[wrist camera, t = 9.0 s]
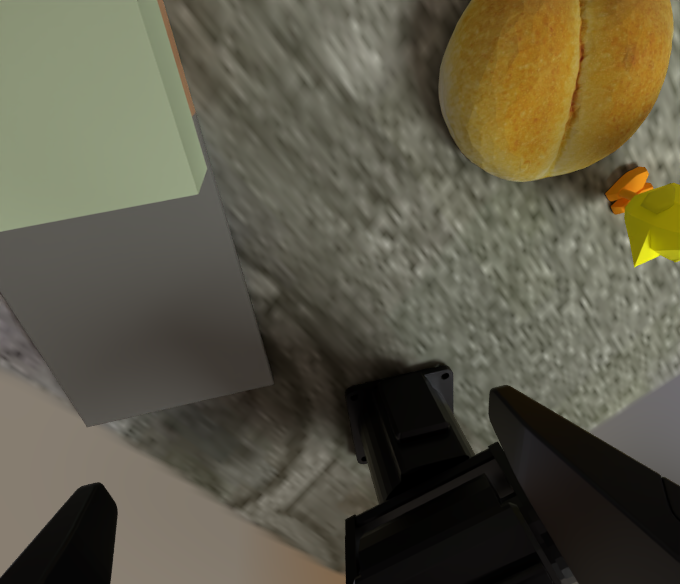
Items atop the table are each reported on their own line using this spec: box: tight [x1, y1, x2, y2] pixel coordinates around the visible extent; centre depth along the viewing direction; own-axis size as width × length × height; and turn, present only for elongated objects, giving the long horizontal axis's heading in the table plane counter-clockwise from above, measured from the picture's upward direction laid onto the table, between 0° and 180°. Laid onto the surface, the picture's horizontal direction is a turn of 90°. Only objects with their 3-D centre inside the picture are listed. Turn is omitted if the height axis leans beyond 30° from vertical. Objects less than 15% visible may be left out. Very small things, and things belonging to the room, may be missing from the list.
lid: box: [0, 0, 207, 232], centre depth 11 cm, size 10×6×3 cm, turn 8°
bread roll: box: [438, 0, 674, 182], centre depth 17 cm, size 8×9×4 cm
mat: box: [0, 112, 274, 427], centre depth 20 cm, size 14×10×1 cm
